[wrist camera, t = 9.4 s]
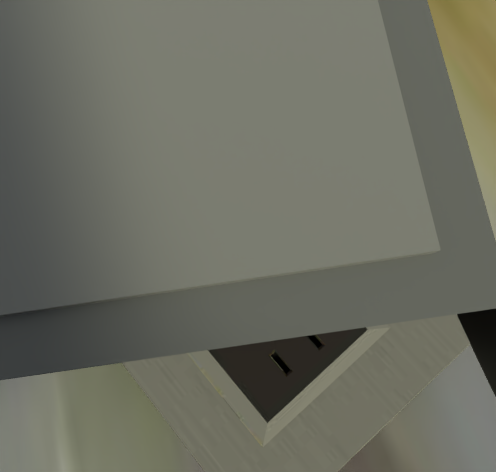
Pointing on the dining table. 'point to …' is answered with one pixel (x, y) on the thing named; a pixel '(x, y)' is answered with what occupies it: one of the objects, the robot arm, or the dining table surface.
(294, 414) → the electrical outlet
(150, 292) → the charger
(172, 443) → the dining table surface
